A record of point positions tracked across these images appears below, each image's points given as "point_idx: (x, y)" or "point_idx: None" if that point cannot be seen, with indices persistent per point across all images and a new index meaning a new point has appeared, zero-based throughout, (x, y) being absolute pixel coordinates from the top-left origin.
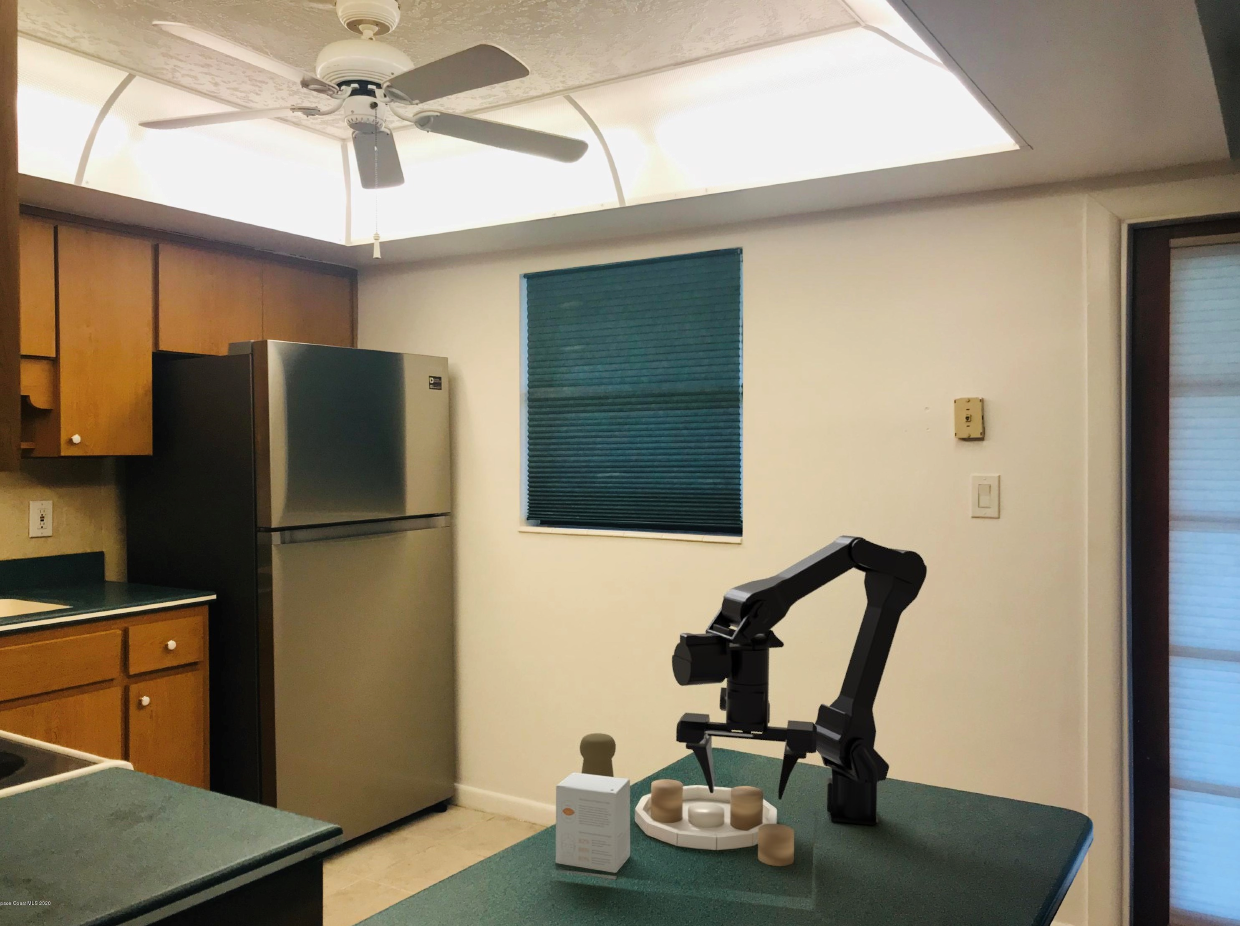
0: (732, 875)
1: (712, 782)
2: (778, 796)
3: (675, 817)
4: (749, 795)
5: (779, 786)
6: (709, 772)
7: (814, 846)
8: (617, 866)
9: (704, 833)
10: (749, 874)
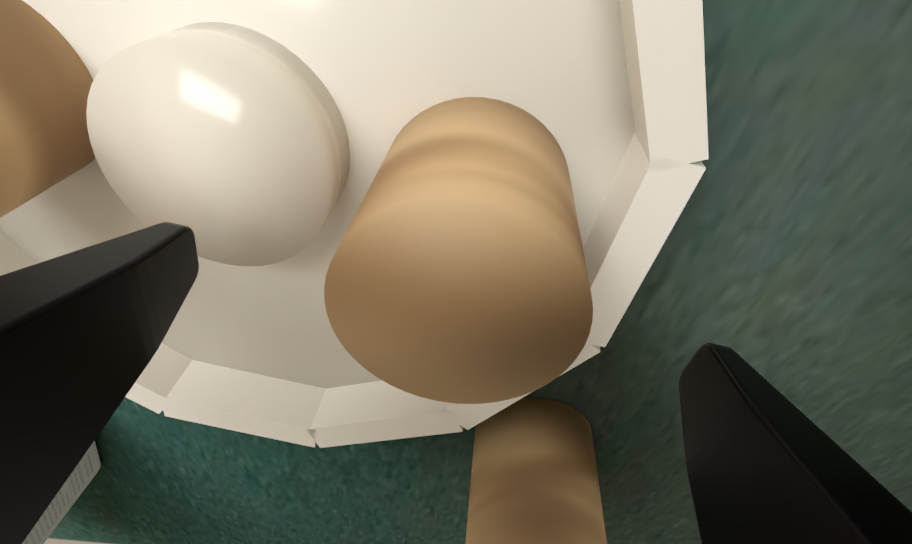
0: (391, 464)
1: (147, 364)
2: (681, 401)
3: (71, 173)
4: (464, 379)
5: (696, 504)
6: (64, 468)
7: (762, 319)
8: (80, 489)
9: (266, 421)
10: (440, 463)
